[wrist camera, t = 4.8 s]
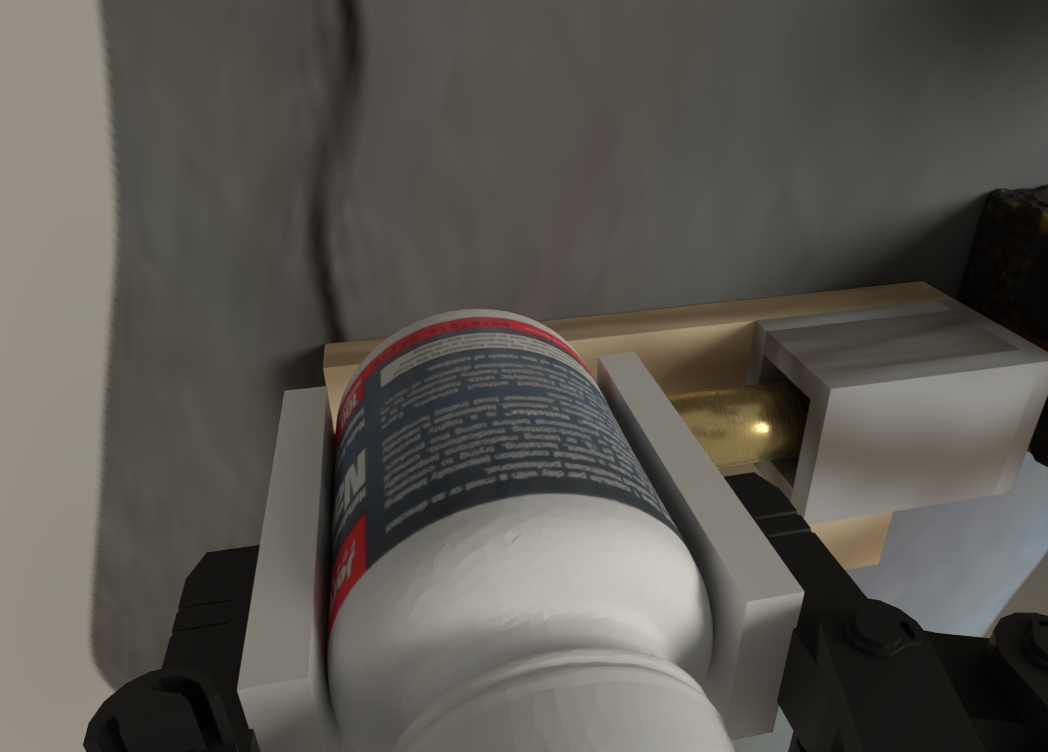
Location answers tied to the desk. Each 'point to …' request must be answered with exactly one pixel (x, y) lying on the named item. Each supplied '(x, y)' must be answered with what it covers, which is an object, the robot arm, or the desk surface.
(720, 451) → the pin
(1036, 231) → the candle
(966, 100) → the desk surface
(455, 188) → the desk surface
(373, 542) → the pill bottle
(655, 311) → the wooden base board
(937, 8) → the desk surface
